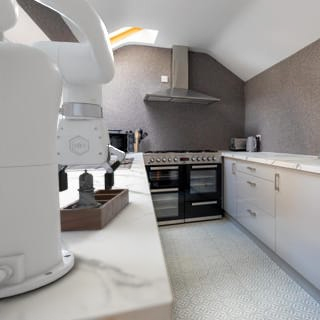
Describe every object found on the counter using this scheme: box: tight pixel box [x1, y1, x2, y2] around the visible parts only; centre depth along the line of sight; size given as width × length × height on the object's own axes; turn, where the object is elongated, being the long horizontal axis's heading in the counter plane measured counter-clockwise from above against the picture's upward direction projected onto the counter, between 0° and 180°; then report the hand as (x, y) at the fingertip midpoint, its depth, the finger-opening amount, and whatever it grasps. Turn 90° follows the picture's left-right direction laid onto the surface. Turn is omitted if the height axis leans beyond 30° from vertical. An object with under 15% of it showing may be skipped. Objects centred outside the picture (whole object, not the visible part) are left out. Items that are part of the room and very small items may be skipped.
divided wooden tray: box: [60, 188, 130, 232], centre depth 67 cm, size 25×9×4 cm, turn 10°
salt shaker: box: [72, 168, 102, 209], centre depth 59 cm, size 6×6×12 cm
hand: (86, 190), depth 59 cm, fingers open, 9 cm apart
